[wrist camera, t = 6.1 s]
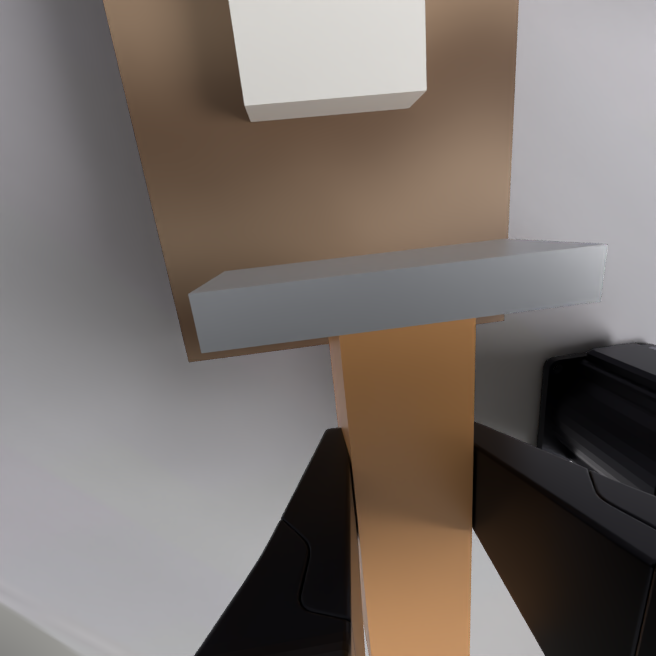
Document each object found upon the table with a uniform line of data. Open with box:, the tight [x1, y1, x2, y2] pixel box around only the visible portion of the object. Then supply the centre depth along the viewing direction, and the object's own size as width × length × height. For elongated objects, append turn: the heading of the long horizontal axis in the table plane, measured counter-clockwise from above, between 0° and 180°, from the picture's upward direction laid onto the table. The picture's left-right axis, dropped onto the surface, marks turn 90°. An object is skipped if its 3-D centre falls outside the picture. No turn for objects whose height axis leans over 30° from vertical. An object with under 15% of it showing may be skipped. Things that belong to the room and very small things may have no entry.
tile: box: [228, 0, 427, 122], centre depth 9 cm, size 5×5×2 cm
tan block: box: [103, 0, 519, 362], centre depth 13 cm, size 15×12×4 cm
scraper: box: [188, 239, 608, 656], centre depth 8 cm, size 10×7×3 cm
